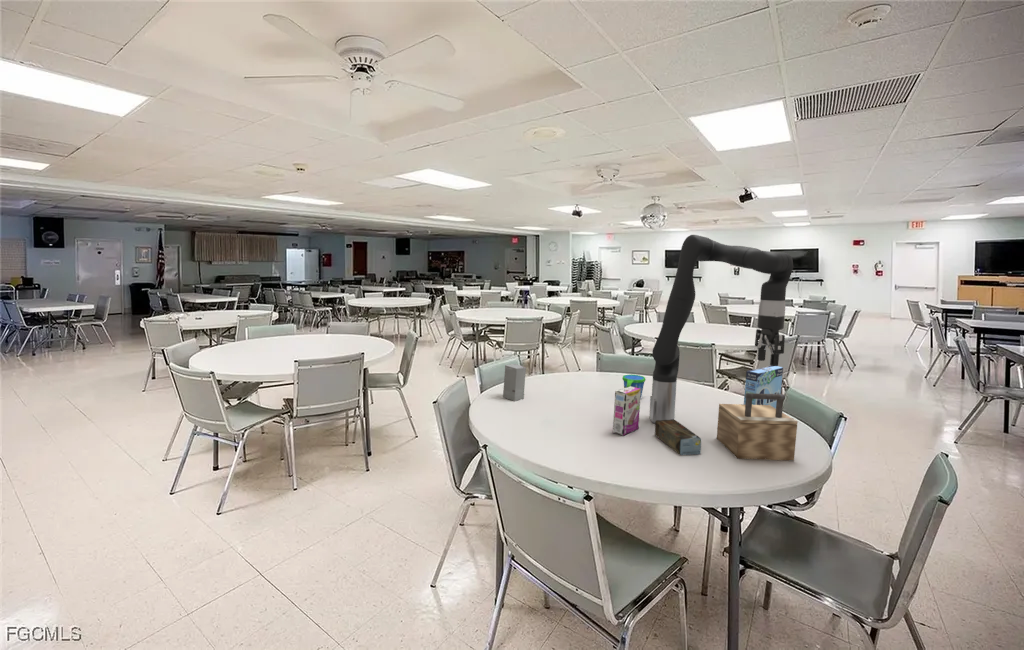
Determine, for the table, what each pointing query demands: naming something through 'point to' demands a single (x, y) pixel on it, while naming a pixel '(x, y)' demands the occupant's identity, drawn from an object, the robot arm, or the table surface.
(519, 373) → the skincare box
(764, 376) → the gum box
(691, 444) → the beverage carton
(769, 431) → the wooden box
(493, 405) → the table surface
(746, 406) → the lid
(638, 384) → the snack cup
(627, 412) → the candy bar box
